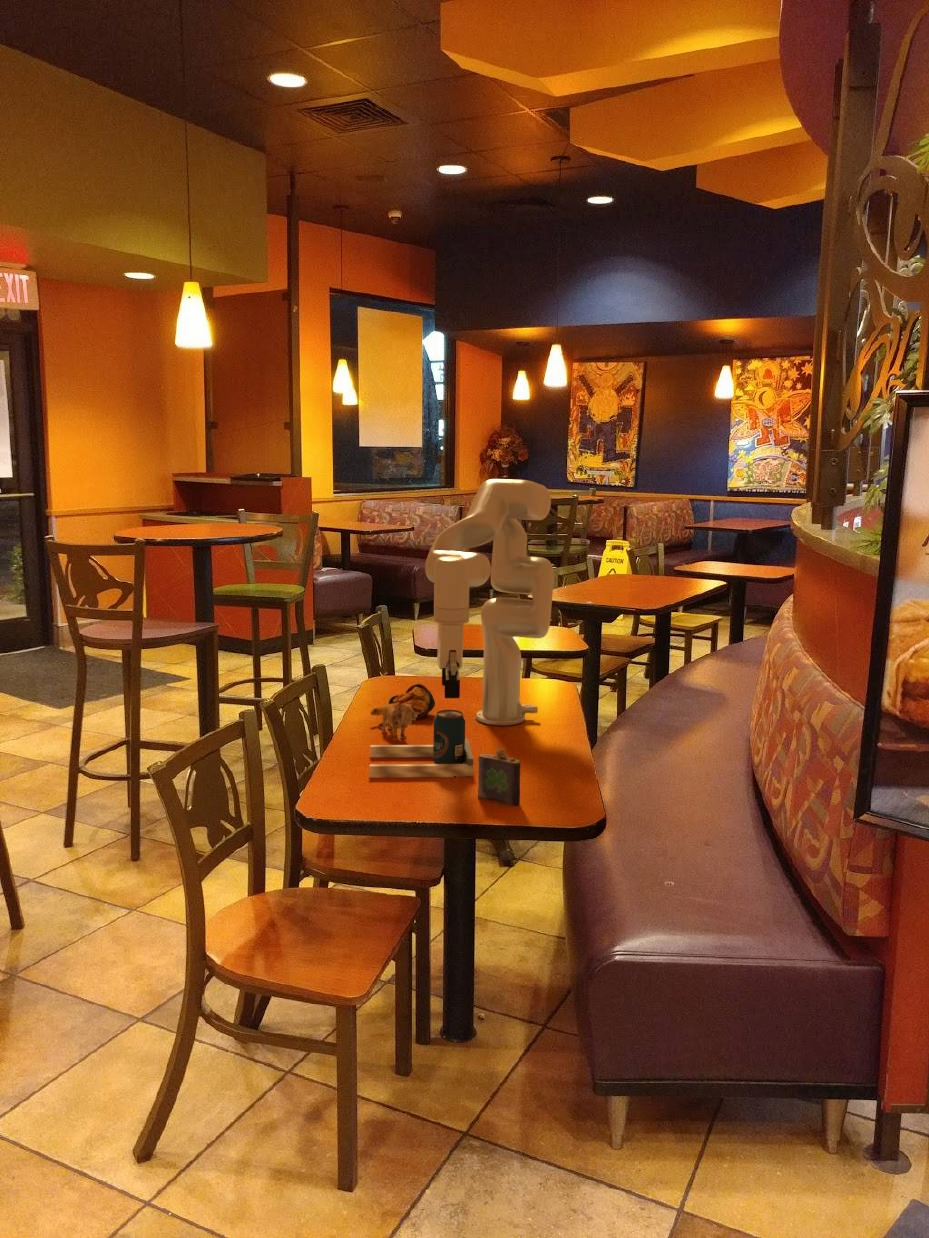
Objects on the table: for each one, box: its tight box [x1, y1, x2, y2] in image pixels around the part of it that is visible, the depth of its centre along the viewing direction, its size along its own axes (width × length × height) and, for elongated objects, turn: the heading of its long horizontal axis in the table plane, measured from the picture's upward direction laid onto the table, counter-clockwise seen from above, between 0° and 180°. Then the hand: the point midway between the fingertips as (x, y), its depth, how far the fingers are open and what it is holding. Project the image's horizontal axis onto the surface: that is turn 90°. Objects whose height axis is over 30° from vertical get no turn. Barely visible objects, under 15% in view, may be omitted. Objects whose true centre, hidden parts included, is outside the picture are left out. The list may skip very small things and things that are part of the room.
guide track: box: [368, 737, 474, 779], centre depth 214 cm, size 22×14×4 cm, turn 95°
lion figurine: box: [377, 704, 418, 742], centre depth 235 cm, size 15×5×9 cm, turn 37°
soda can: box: [432, 709, 466, 764], centre depth 214 cm, size 7×7×12 cm
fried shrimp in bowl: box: [370, 683, 436, 719], centre depth 249 cm, size 9×11×18 cm
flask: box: [477, 748, 521, 807], centre depth 194 cm, size 9×3×11 cm, turn 59°
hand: (450, 691), depth 212 cm, fingers open, 9 cm apart
